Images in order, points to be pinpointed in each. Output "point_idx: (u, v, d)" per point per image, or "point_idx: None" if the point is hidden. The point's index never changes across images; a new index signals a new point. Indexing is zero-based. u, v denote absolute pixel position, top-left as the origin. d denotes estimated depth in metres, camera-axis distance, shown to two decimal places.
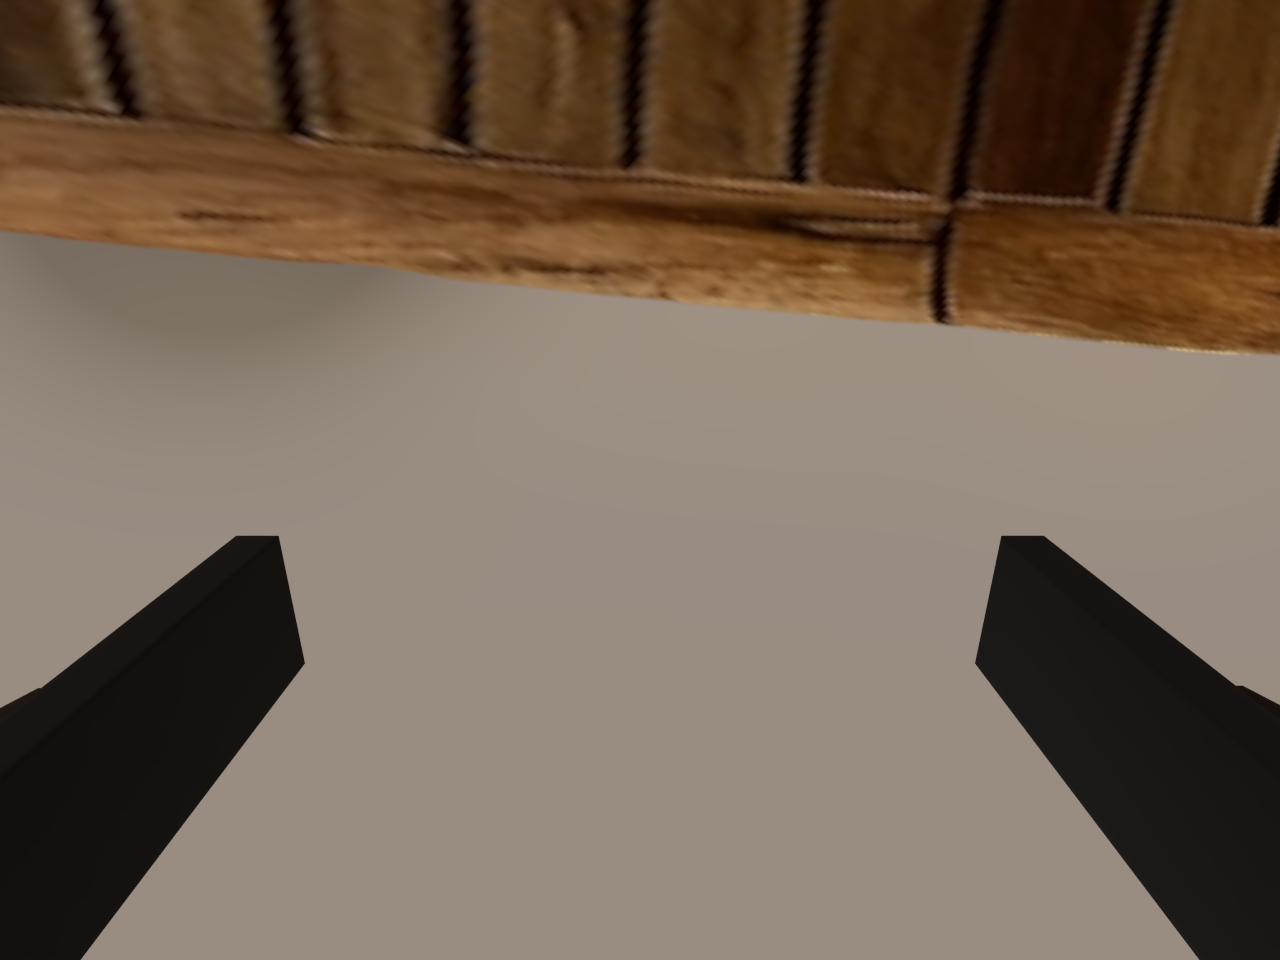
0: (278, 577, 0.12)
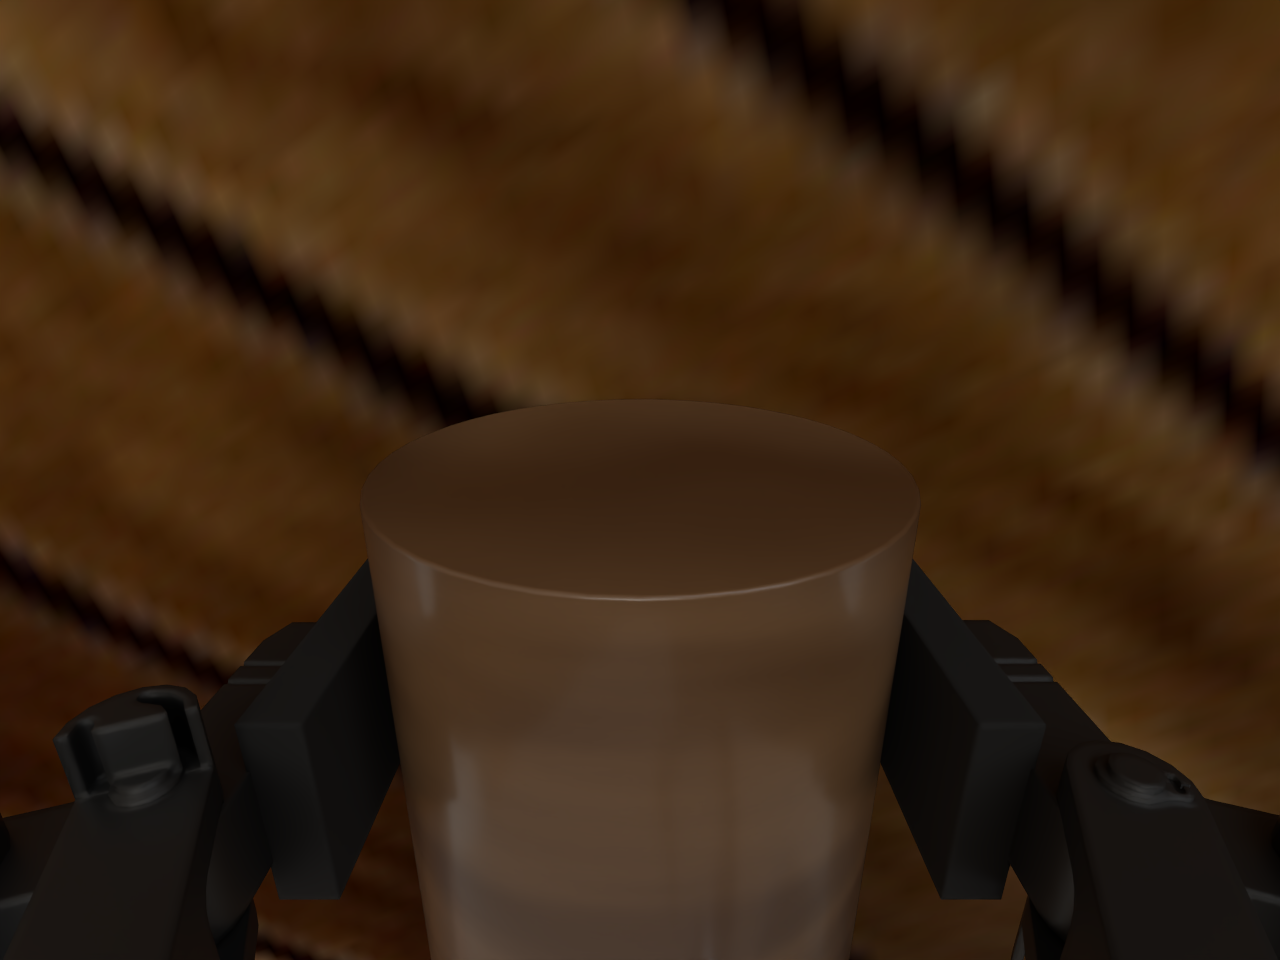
0: None
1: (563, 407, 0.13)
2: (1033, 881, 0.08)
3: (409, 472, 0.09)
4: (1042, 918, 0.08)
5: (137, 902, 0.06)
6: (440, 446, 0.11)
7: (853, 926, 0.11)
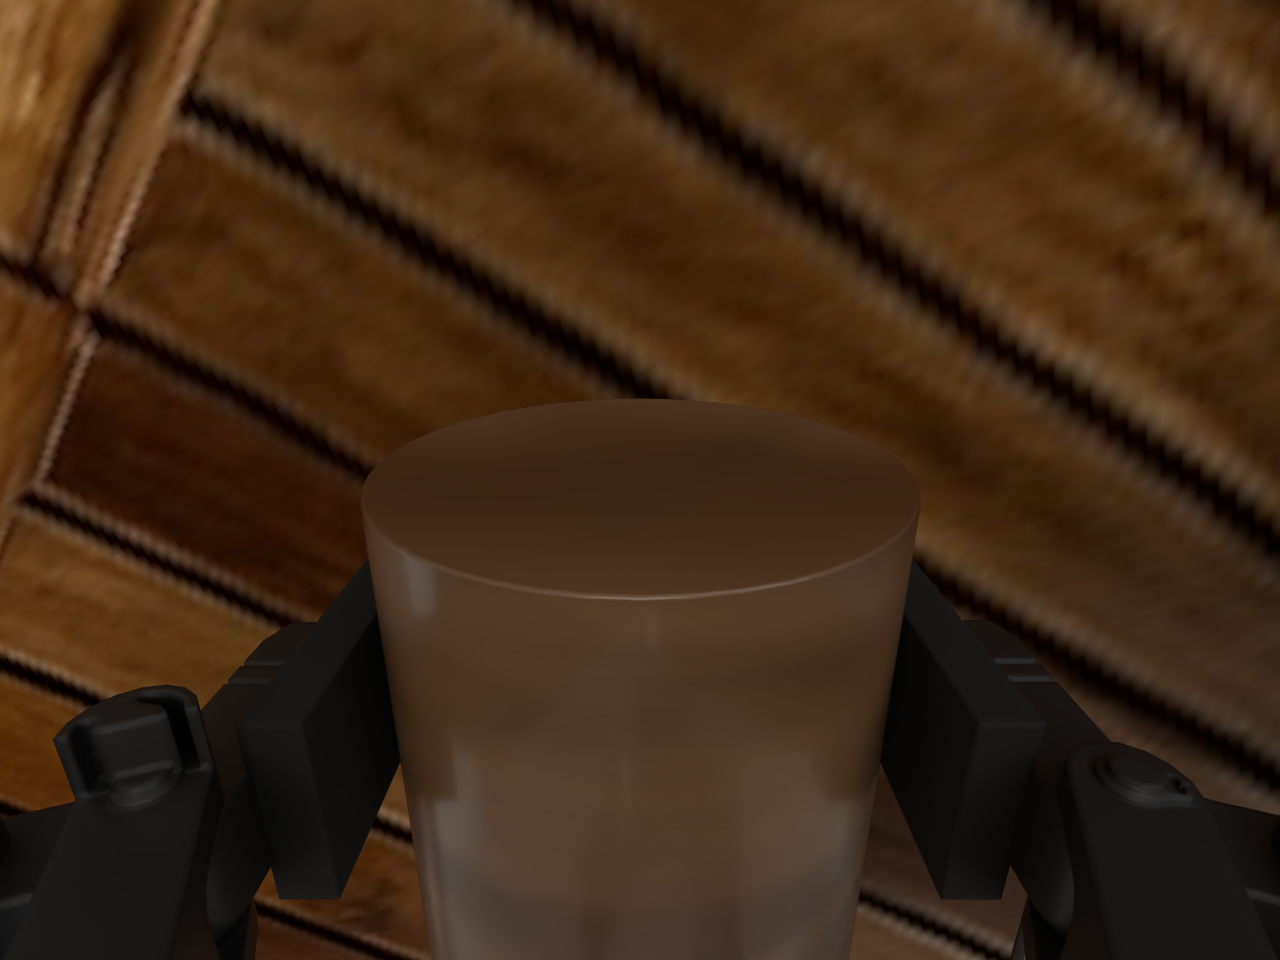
0: None
1: (564, 407, 0.13)
2: (1033, 881, 0.08)
3: (410, 472, 0.09)
4: (1043, 918, 0.08)
5: (137, 903, 0.06)
6: (440, 446, 0.11)
7: (853, 925, 0.11)
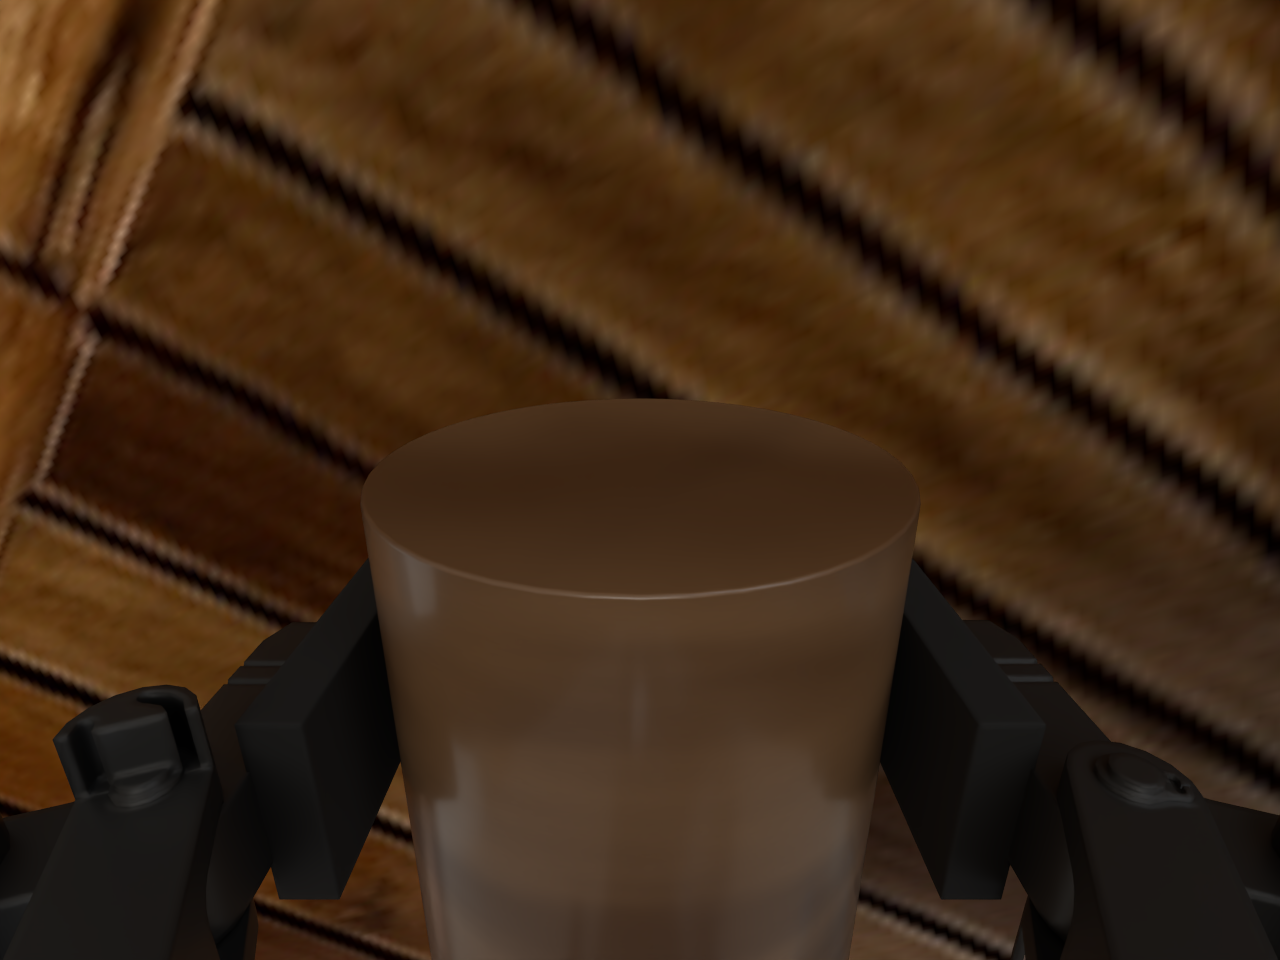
0: None
1: (563, 406, 0.13)
2: (1033, 881, 0.08)
3: (410, 472, 0.09)
4: (1043, 917, 0.08)
5: (138, 902, 0.06)
6: (440, 445, 0.11)
7: (853, 925, 0.11)
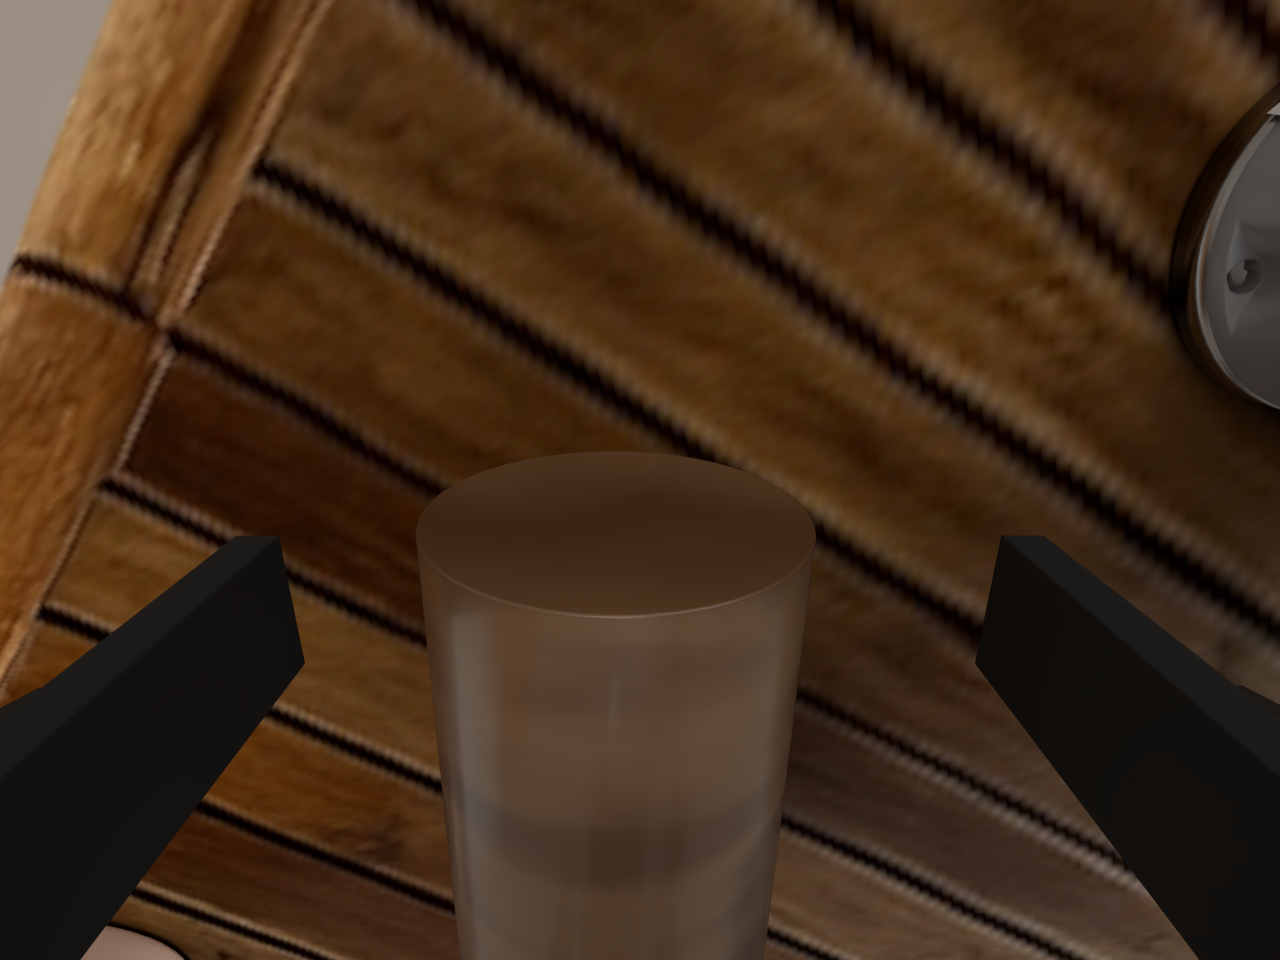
0: (278, 576, 0.12)
1: (559, 458, 0.16)
2: None
3: (449, 518, 0.13)
4: None
5: None
6: (467, 495, 0.14)
7: (773, 858, 0.14)
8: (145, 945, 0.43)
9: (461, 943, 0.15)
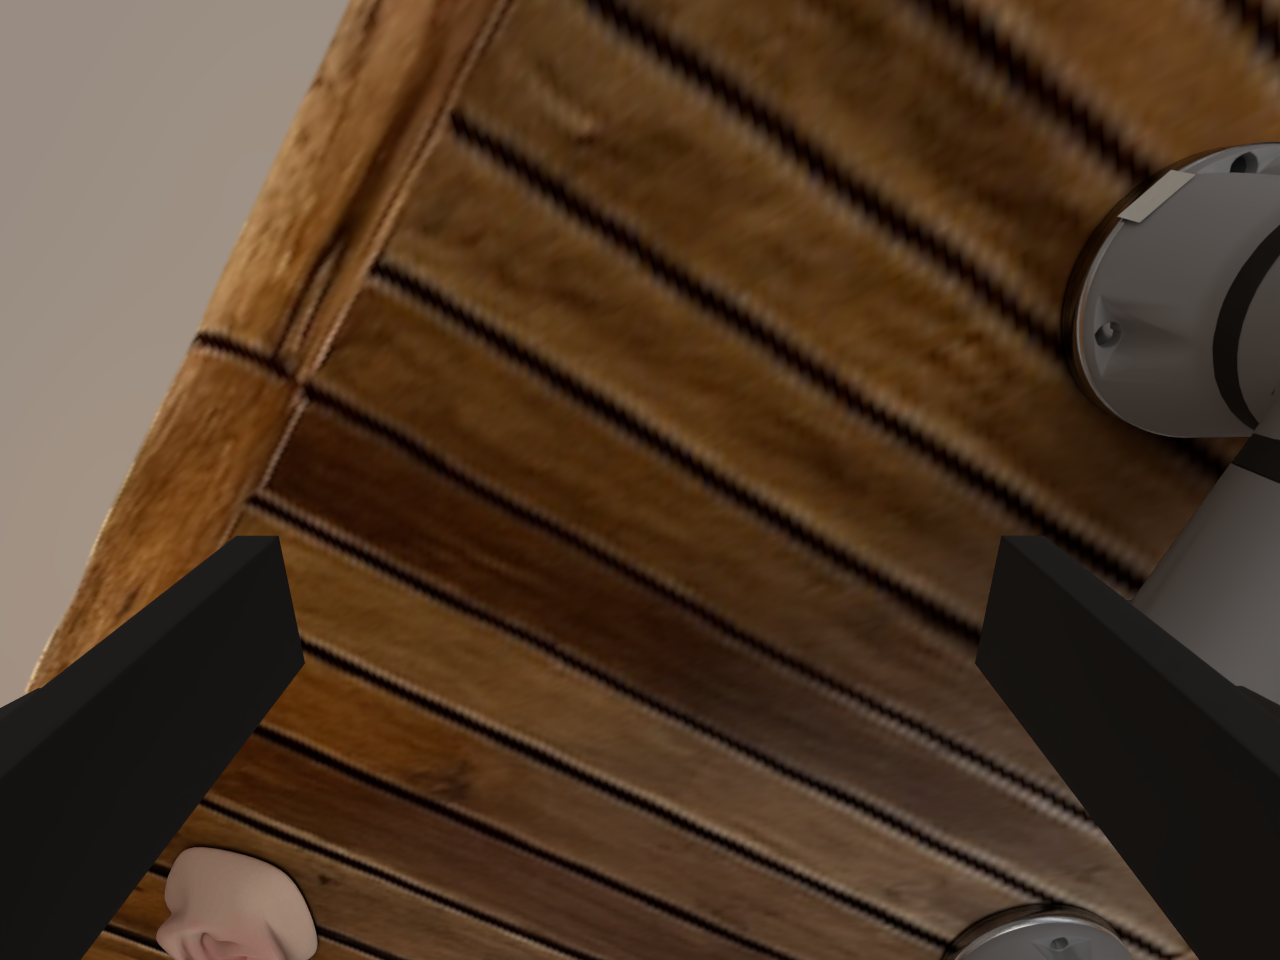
0: (278, 577, 0.12)
1: None
2: None
3: None
4: None
5: None
6: None
7: None
8: (263, 868, 0.53)
9: None
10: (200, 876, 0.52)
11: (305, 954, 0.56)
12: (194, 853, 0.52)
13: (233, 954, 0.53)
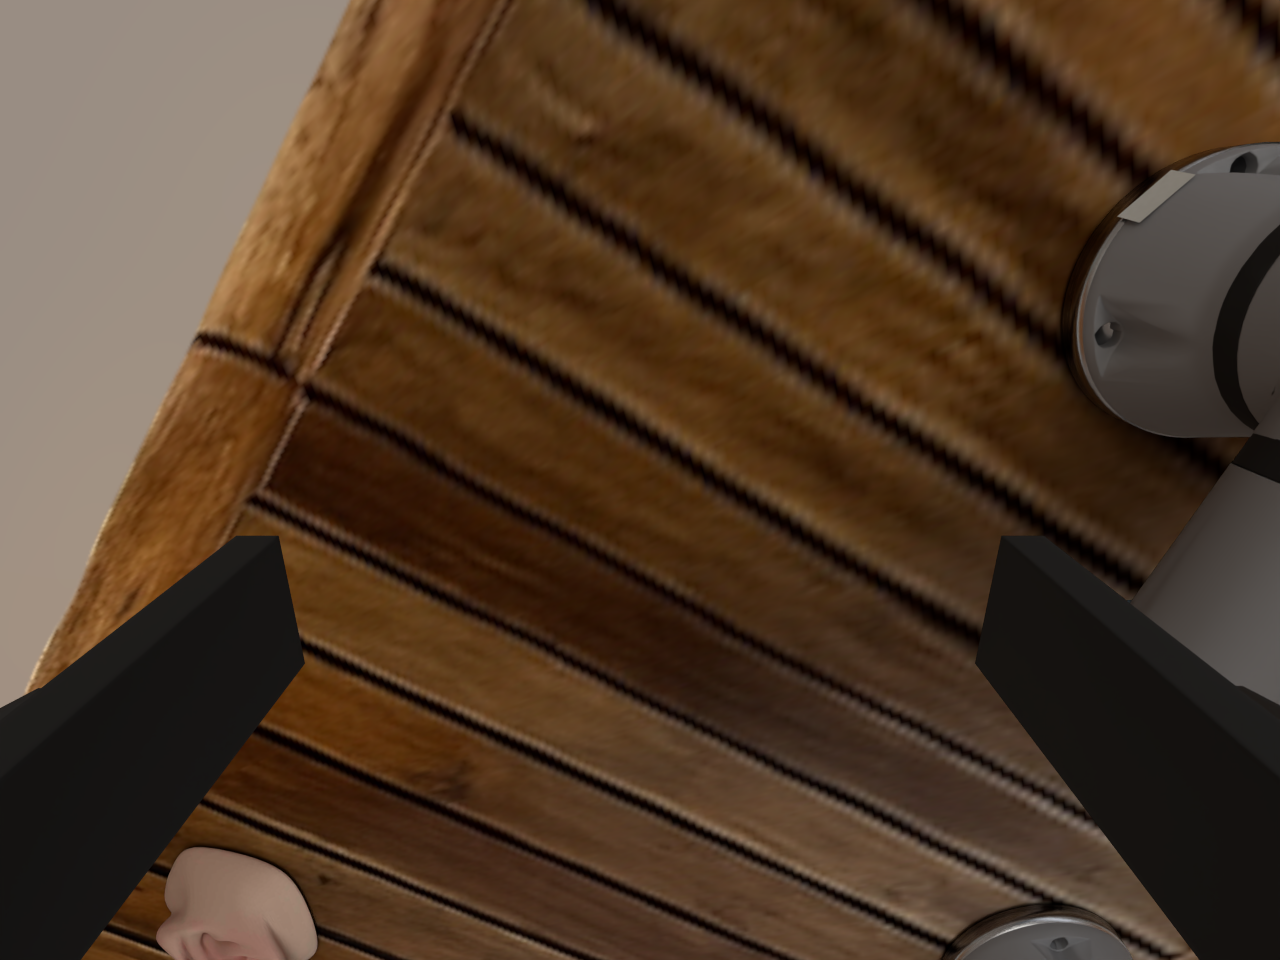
0: (278, 577, 0.12)
1: None
2: None
3: None
4: None
5: None
6: None
7: None
8: (263, 868, 0.53)
9: None
10: (200, 876, 0.52)
11: (305, 954, 0.56)
12: (194, 853, 0.52)
13: (233, 954, 0.53)
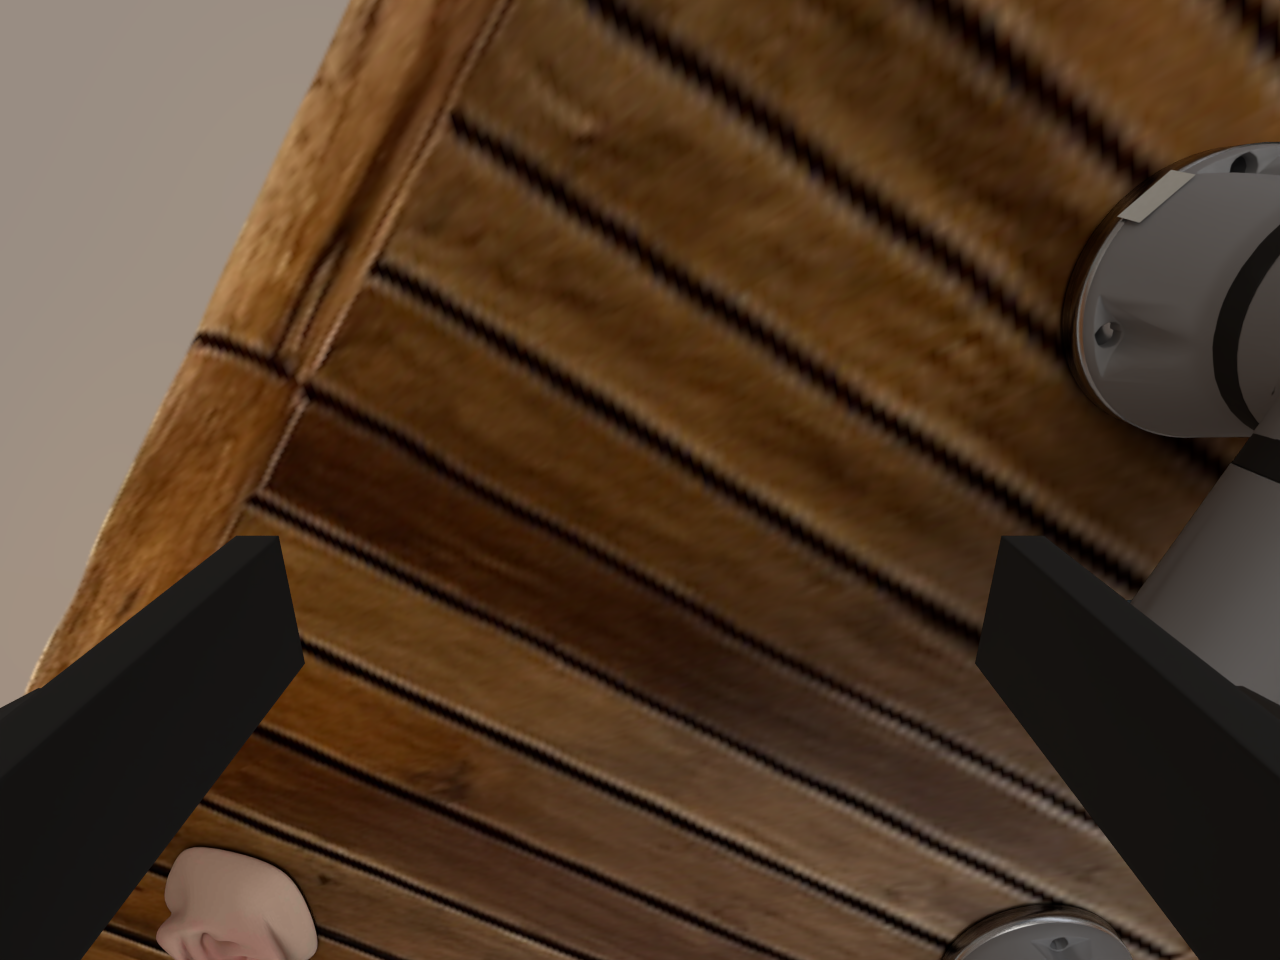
0: (278, 577, 0.12)
1: None
2: None
3: None
4: None
5: None
6: None
7: None
8: (263, 868, 0.53)
9: None
10: (200, 876, 0.52)
11: (305, 954, 0.56)
12: (194, 853, 0.52)
13: (233, 954, 0.53)
